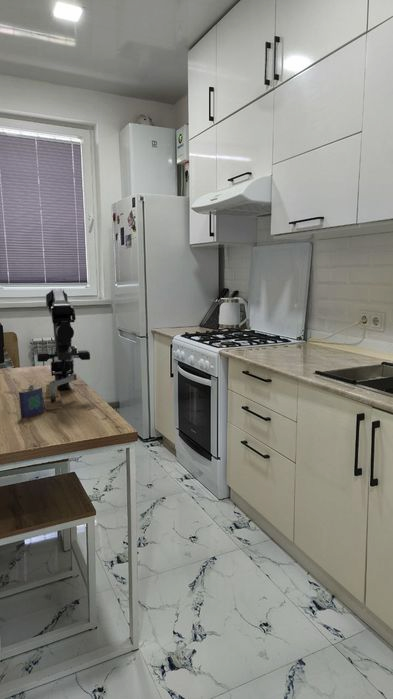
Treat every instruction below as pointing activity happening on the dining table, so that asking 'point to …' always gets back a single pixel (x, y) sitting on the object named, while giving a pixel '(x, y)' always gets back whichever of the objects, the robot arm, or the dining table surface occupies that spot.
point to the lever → (60, 382)
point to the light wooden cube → (49, 389)
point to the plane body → (52, 405)
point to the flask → (31, 402)
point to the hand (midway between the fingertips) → (64, 378)
